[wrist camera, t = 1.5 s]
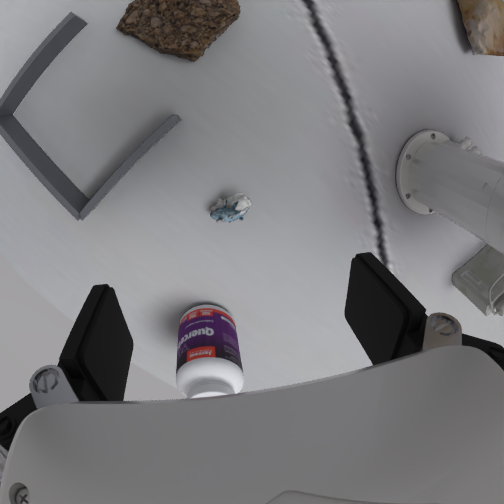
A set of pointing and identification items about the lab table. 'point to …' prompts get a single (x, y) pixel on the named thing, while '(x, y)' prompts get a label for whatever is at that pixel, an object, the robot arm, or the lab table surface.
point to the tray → (29, 150)
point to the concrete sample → (179, 24)
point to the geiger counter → (483, 280)
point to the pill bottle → (208, 353)
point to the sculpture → (230, 208)
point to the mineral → (484, 25)
